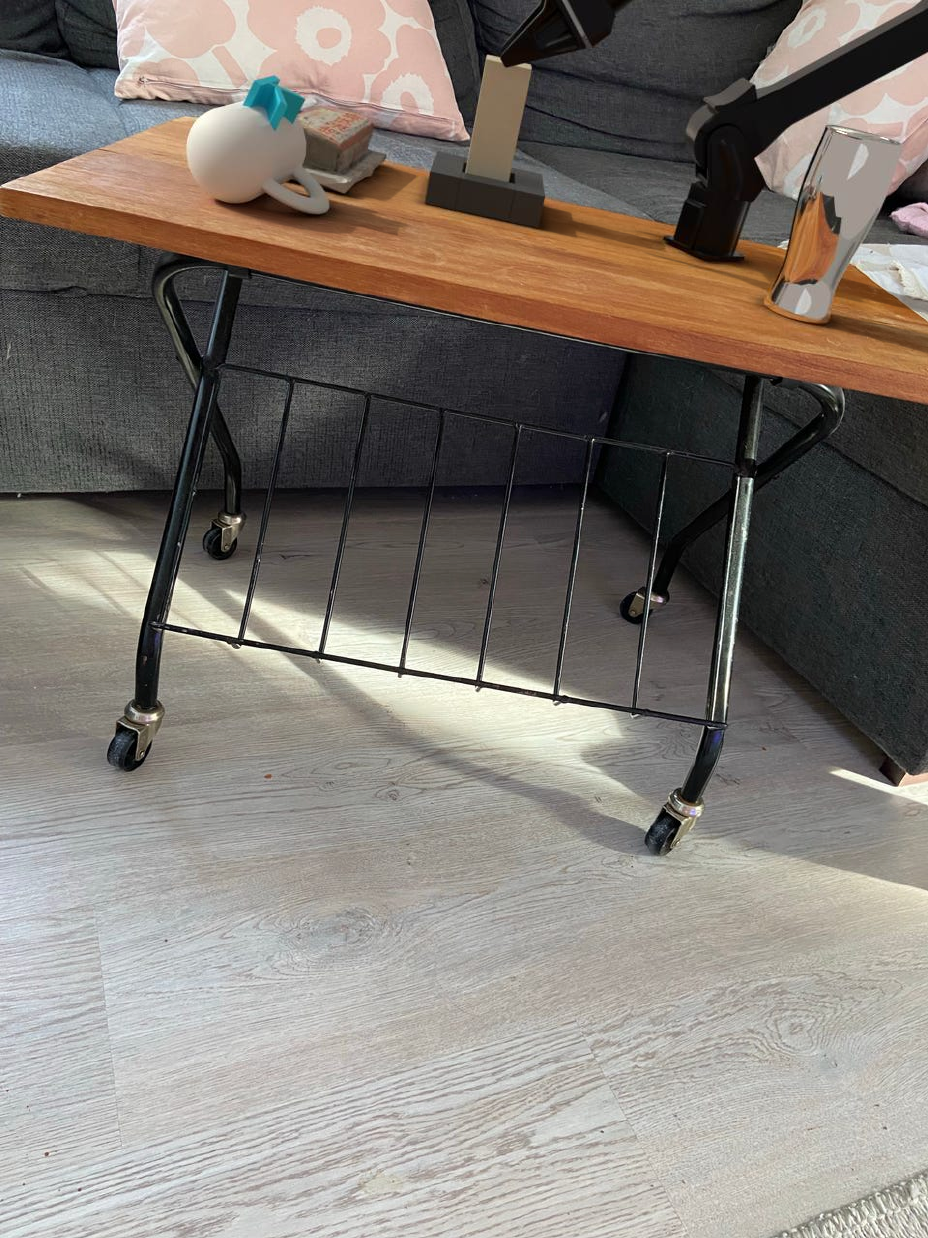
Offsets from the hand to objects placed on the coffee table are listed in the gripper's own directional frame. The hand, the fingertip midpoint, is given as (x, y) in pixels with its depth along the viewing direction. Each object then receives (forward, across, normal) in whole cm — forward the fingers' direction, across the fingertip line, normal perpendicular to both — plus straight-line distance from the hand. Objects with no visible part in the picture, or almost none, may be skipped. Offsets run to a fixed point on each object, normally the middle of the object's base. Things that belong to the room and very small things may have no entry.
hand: (502, 57), depth 94 cm
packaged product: (+21, 0, -2) cm, 21 cm away
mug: (+22, +18, -4) cm, 29 cm away
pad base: (+9, 0, +10) cm, 13 cm away
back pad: (+9, 0, +10) cm, 13 cm away
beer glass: (-12, +17, +31) cm, 37 cm away
